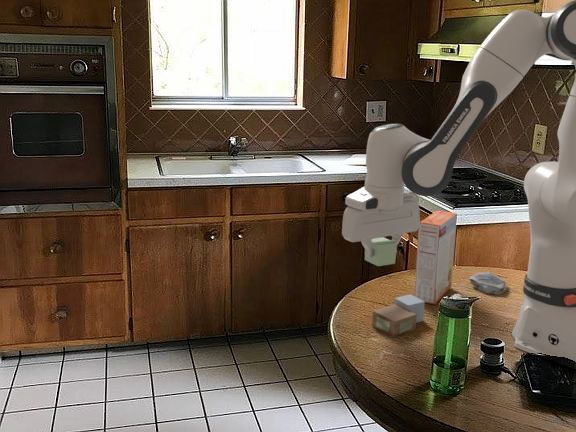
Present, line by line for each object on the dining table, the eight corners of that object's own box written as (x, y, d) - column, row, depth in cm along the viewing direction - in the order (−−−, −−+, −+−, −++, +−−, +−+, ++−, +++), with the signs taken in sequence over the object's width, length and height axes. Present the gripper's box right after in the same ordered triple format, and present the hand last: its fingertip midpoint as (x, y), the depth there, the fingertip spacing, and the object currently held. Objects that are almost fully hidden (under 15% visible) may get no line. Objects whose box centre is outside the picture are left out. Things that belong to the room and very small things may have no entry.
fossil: (514, 285, 170) (477, 276, 169) (509, 300, 170) (472, 291, 170) (501, 274, 181) (466, 266, 181) (496, 288, 181) (462, 280, 181)
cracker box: (430, 283, 177) (436, 209, 171) (451, 288, 174) (459, 212, 169) (411, 300, 165) (417, 221, 160) (434, 305, 162) (441, 225, 157)
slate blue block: (423, 321, 154) (424, 301, 152) (406, 325, 151) (408, 305, 150) (409, 313, 158) (410, 294, 156) (392, 317, 155) (394, 298, 154)
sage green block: (395, 263, 151) (397, 242, 149) (377, 266, 148) (379, 245, 147) (381, 257, 155) (383, 237, 153) (364, 259, 152) (366, 239, 151)
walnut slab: (416, 330, 149) (417, 314, 148) (394, 338, 145) (395, 321, 144) (393, 319, 154) (394, 304, 153) (371, 327, 150) (372, 310, 149)
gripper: (409, 188, 155) (406, 244, 159) (339, 198, 145) (337, 257, 148) (428, 194, 150) (423, 251, 153) (356, 204, 140) (353, 265, 143)
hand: (380, 254), depth 151 cm, fingers closed on sage green block, 5 cm apart
